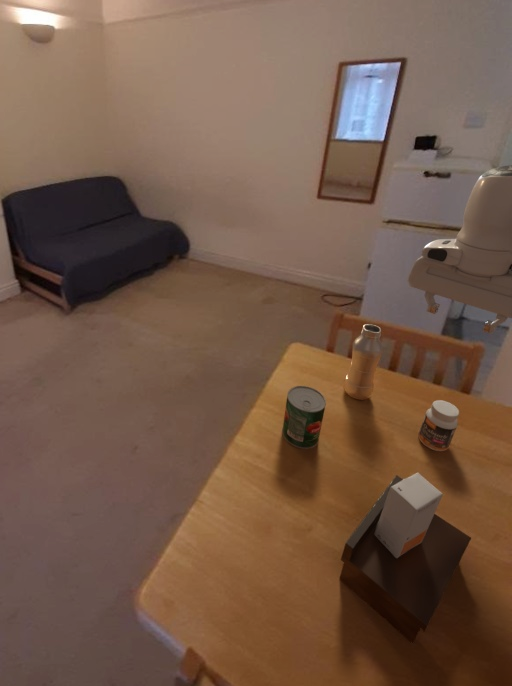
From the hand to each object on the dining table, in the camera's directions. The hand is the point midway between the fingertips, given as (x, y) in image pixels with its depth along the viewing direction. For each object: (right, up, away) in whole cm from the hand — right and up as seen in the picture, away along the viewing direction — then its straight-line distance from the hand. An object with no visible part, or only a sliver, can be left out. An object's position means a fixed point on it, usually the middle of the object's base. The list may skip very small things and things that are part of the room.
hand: (458, 321), depth 79 cm
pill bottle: (+2, -28, +10) cm, 30 cm away
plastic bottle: (-8, -22, +23) cm, 33 cm away
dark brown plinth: (-19, -39, -12) cm, 46 cm away
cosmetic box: (-21, -34, -14) cm, 42 cm away
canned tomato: (-27, -28, +13) cm, 40 cm away
